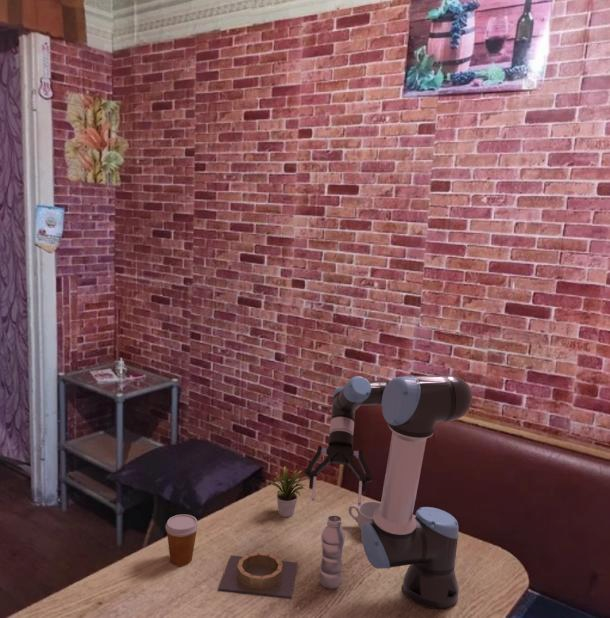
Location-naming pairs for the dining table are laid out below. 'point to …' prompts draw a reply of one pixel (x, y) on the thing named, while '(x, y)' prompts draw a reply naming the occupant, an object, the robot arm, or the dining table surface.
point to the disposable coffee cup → (181, 538)
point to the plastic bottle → (332, 553)
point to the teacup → (364, 512)
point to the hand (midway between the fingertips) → (336, 502)
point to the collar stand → (259, 575)
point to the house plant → (288, 492)
